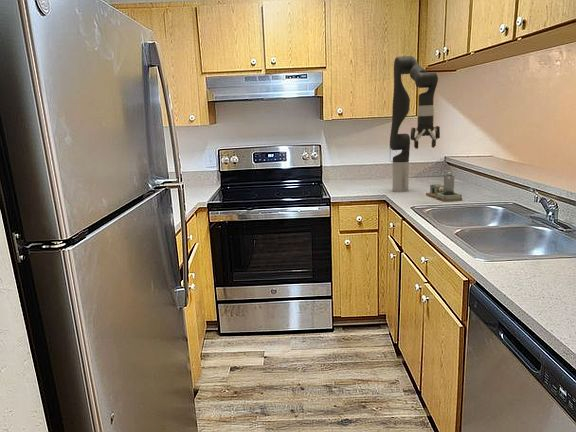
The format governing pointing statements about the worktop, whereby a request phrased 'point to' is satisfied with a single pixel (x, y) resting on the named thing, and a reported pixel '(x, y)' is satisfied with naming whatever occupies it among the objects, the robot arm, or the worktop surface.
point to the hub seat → (449, 196)
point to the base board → (441, 198)
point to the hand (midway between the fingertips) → (424, 148)
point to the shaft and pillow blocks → (436, 188)
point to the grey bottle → (448, 184)
